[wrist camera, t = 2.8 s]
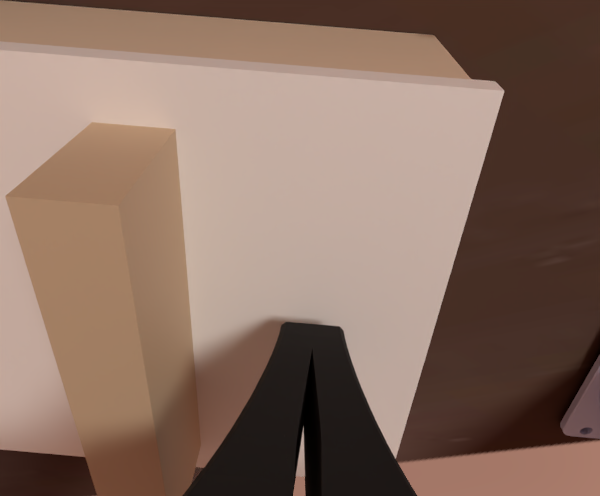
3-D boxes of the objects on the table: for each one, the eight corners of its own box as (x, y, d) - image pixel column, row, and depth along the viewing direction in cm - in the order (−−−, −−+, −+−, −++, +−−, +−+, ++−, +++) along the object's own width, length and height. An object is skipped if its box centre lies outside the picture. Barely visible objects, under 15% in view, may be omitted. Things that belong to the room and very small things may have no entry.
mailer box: (433, 35, 14) (477, 87, 9) (370, 344, 20) (380, 454, 16) (-137, -11, 14) (-339, 20, 10) (-12, 311, 21) (-100, 411, 16)
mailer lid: (495, 81, 9) (572, 161, 6) (386, 466, 16) (398, 592, 13) (-373, 11, 9) (-706, 54, 6) (-110, 422, 16) (-209, 536, 13)
